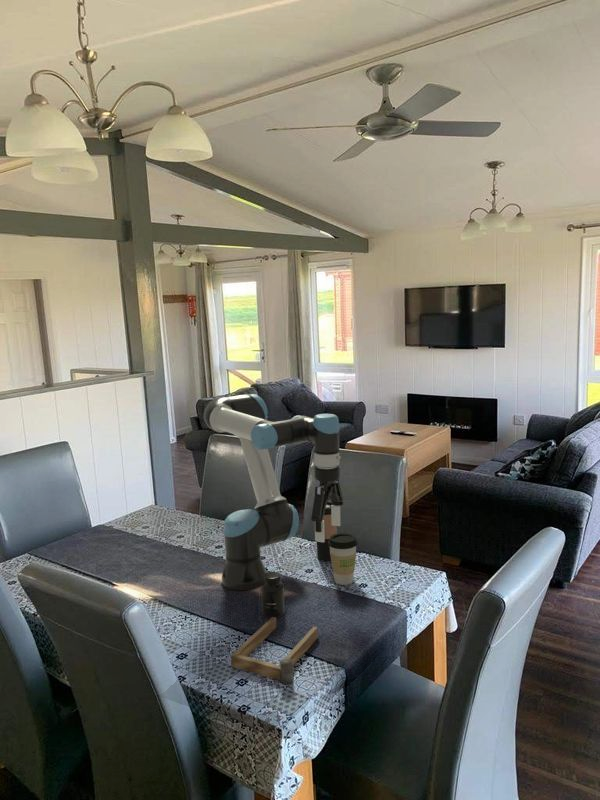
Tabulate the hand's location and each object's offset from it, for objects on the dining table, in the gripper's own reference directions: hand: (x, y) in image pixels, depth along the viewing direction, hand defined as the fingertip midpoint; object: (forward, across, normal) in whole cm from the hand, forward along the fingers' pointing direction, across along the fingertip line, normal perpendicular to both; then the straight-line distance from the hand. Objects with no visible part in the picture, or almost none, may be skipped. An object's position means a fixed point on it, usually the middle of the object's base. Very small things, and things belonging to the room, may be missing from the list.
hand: (328, 533), depth 179 cm
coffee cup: (+22, +15, 0) cm, 27 cm away
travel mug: (+23, +30, +12) cm, 40 cm away
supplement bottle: (+22, -13, +13) cm, 29 cm away
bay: (+22, -31, +2) cm, 38 cm away
